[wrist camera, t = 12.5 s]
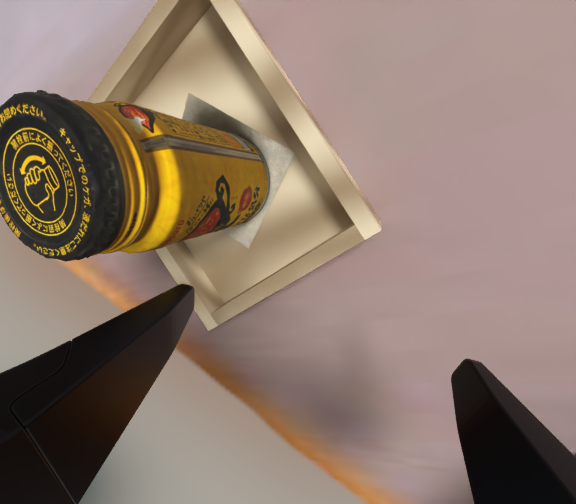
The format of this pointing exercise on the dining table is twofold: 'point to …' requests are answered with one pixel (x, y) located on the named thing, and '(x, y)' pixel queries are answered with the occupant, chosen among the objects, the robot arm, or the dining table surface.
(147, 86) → the tray
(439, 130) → the dining table surface
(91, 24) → the dining table surface
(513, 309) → the dining table surface
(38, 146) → the condiment
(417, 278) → the dining table surface
